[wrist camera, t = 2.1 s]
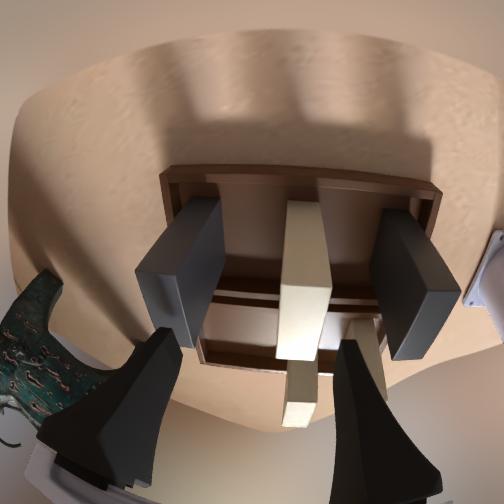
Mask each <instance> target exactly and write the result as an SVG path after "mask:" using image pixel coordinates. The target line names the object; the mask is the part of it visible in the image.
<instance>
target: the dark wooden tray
mask: <svg viewBox="0 0 504 504" xmlns="http://www.w3.org/2000/svg"><path fill="white" fill-rule="evenodd" d="M159 178H160V184H161V191H162V197H163V203H164V209H165V215H166V221H167V226H169V225H170V223H171V222H172V221H173V220H174V218H175V217H176V216H177V215H178V213H179V212H180V211H181V210H182V209H183V207H184V206H185V205H186V204H187V202H188V201H189V200H190V199H191V198H192V197H220V198H221V205H222V219H223V232H224V244H225V256H226V262H225V265H224V267H223V270H222V273H221V276H220V278H219V281H218V284H217V286H216V289H215V292H214V295H220V296H230V297H241V298H253V299H265V300H278V301H279V300H280V284H281V273H282V262H283V251H284V239H285V227H286V214H287V201H288V200H293V201H309V202H319V203H320V208H321V214H322V220H323V226H324V232H325V238H326V244H327V251H328V257H329V264H330V272H331V279H332V292H331V297H330V301H329V304H349V305H378V301H377V297H376V294H375V290H374V287H373V283H372V280H371V276H370V273H369V267H370V263H371V259H372V255H373V251H374V247H375V243H376V239H377V235H378V230H379V226H380V221H381V216H382V211H383V208H387V209H396V210H404V211H409V212H410V213H411V214H412V215H413V217H414V218H415V219H416V221H417V222H418V224H419V225H420V226H421V228H422V229H423V231H424V232H425V233H426V235H427V236H428V238H429V239H430V238H431V235H432V232H433V228H434V225H435V222H436V218H437V214H438V211H439V207H440V203H441V199H442V195H443V193H442V192H441V191H440V190H439V189H438V188H437V187H436V186H435V185H433V183H431V182H428V181H422V180H416V179H410V178H404V177H397V176H390V175H383V174H376V173H367V172H359V171H350V170H340V169H328V168H316V167H301V166H283V165H253V164H200V165H171V166H170V167H169V168H167V169H166V170H165V171H163V172H162V173H161V174H159Z"/></svg>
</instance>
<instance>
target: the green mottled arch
mask: <svg viewBox="0 0 504 504" xmlns="http://www.w3.org/2000/svg"><path fill="white" fill-rule="evenodd" d="M63 284H64V283H62V282H61V281H60V280H58V279H56V278H55V277H54V276H52V275H51V274H50V273H49V272H48V271H47V270H46V269H43V270H42V271H41V272H40V273H39V274H38V275H37V276H36V277H35V278H34V279H33V280H32V281H31V283H30V284H29V285H28V286H27V287H26V289H25V290H24V291H23V292H22V293H21V295H20V296H19V297H18V298H17V299H16V300H15V301H14V302H13V304H12V306H11V307H10V309H9V310H8V312H7V313H6V315H5V317H4V318H3V320H2V322H1V324H0V413H1V414H2V415H4V410H3V408H4V407H8V408H11V409H13V410H16V411H18V412H20V413H21V414H23V415H24V416H25V417H26V418H27V419H28V420H29V421H30V422H31V424H32V425H33V426H34V427H35V428H36V429H37V430H39V428H40V426H41V424H42V422H43V420H44V418H45V417H47V416H50V415H52V414H54V413H56V412H59V411H61V410H63V409H65V408H67V407H69V406H70V405H72V404H74V403H76V402H77V401H79V400H81V399H82V398H84V397H85V396H87V395H88V394H90V393H91V392H92V391H94V390H95V389H97V388H98V387H99V386H100V385H102V384H103V383H104V382H105V381H107V380H108V379H109V378H110V377H111V376H112V375H113V374H115V373H116V372H117V371H118V370H119V369H120V368H118V369H115V370H100V369H95V368H92V367H90V366H88V365H86V364H84V363H82V362H80V361H79V360H78V359H76V358H75V357H74V356H73V355H72V354H71V353H70V352H69V351H68V350H66V349H65V348H64V347H63V346H62V345H61V344H60V343H59V342H58V341H57V340H56V339H55V338H54V337H53V336H52V335H51V334H50V333H49V331H48V322H49V319H50V316H51V313H52V310H53V308H54V306H55V304H56V302H57V300H58V299H59V297H60V296H61V293H62V286H63ZM143 344H144V342H142V341H141V342H139V344H138V345H137V346H136V347H135V349H134V351H133V353H132V354H131V356H130V357H129V359H130V358H131V357H132V356H133V355H134V354H135V353H136V352H137V351H138V350H139V349H140V347H141V346H142V345H143ZM129 359H128V360H129ZM9 402H14V403H15V404H16V405H17V406H18V407H19V408H18V407H14V406H11V405H9V404H8V403H9ZM0 442H1V443H3V444H4V445H6V446H8V447H11V448H17V447H21V444H15V445H13V444H8V443H6V442H4V441H3V440H2V439H1V438H0Z"/></svg>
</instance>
